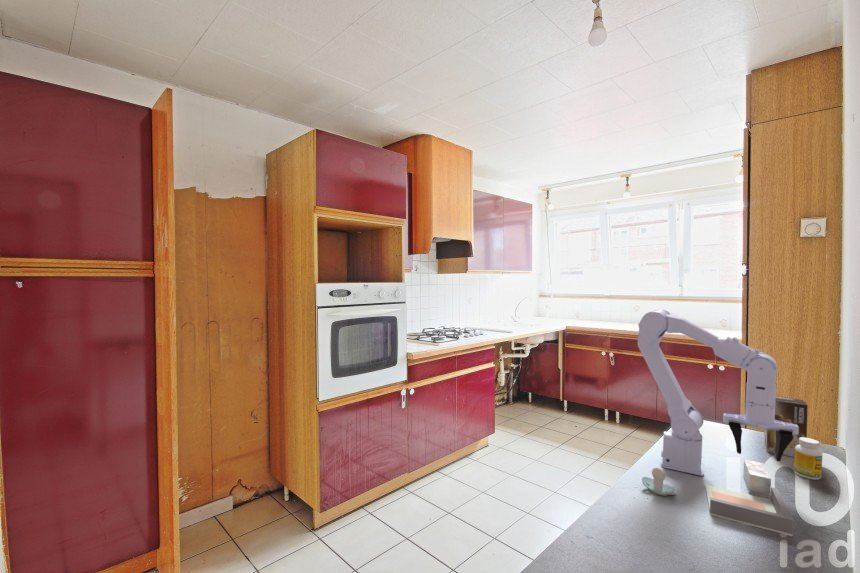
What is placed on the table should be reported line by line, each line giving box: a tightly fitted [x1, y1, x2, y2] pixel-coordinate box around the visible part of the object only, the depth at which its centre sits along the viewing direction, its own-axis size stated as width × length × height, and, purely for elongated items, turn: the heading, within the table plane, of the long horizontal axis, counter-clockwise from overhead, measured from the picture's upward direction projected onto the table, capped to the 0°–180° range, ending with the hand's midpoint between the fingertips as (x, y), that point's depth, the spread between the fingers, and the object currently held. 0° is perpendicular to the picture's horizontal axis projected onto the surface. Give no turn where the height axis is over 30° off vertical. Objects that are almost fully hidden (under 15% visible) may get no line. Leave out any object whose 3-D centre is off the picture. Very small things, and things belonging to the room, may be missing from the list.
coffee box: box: [763, 395, 809, 458], centre depth 122 cm, size 9×6×16 cm
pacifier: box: [641, 467, 676, 497], centre depth 100 cm, size 7×6×6 cm
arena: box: [704, 484, 794, 537], centre depth 93 cm, size 14×14×3 cm
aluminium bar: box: [742, 459, 772, 499], centre depth 102 cm, size 9×4×5 cm, turn 149°
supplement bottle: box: [793, 437, 823, 481], centre depth 108 cm, size 5×5×10 cm
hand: (757, 455), depth 102 cm, fingers open, 7 cm apart
